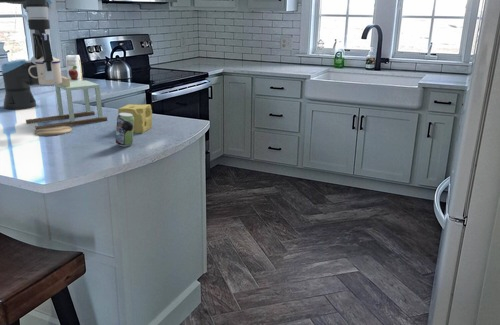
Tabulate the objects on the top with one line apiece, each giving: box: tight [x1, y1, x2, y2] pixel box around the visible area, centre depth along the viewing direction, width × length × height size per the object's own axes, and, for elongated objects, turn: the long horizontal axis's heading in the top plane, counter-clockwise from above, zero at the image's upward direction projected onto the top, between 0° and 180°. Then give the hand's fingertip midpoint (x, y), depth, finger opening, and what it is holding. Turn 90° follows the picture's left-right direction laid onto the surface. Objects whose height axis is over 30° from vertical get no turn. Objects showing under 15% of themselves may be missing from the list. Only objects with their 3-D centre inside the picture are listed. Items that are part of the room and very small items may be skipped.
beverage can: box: [115, 113, 134, 147], centre depth 173 cm, size 6×7×12 cm
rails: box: [25, 110, 108, 131], centre depth 212 cm, size 18×30×2 cm, turn 127°
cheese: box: [117, 103, 153, 134], centre depth 196 cm, size 10×11×10 cm
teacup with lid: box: [28, 56, 62, 86], centre depth 187 cm, size 12×9×12 cm
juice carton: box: [65, 54, 84, 82], centre depth 316 cm, size 8×9×19 cm
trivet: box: [34, 126, 73, 137], centre depth 195 cm, size 14×14×1 cm
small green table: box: [54, 75, 104, 122], centre depth 212 cm, size 17×14×18 cm
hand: (46, 78), depth 188 cm, fingers closed on teacup with lid, 9 cm apart
